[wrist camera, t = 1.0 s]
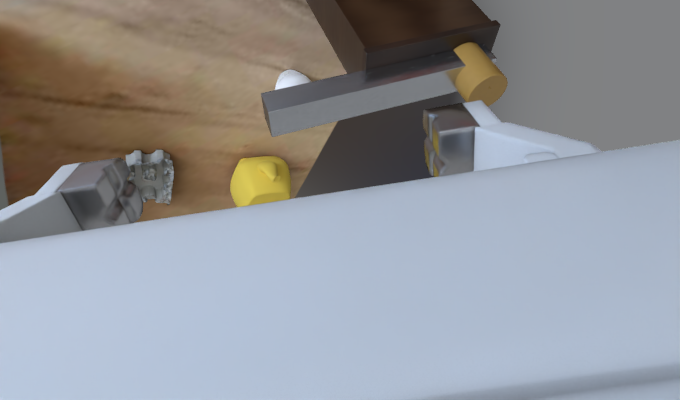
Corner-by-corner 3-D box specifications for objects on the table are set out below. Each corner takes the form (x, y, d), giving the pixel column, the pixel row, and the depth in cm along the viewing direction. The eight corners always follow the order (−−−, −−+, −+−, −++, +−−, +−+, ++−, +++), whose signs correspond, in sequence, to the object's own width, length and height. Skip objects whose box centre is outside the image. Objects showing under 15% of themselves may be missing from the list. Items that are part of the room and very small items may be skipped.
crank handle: (485, 38, 43) (513, 70, 40) (474, 72, 46) (499, 104, 44) (260, 88, 38) (275, 129, 36) (265, 122, 42) (280, 161, 39)
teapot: (232, 134, 77) (246, 181, 71) (293, 132, 82) (311, 175, 76) (223, 200, 90) (235, 244, 84) (276, 194, 95) (290, 236, 89)
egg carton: (167, 189, 82) (171, 207, 80) (122, 190, 79) (124, 209, 76) (174, 148, 75) (178, 166, 73) (124, 147, 71) (126, 166, 69)
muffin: (285, 55, 68) (298, 84, 64) (314, 71, 72) (328, 99, 69) (261, 84, 71) (273, 114, 67) (290, 98, 75) (302, 127, 71)
